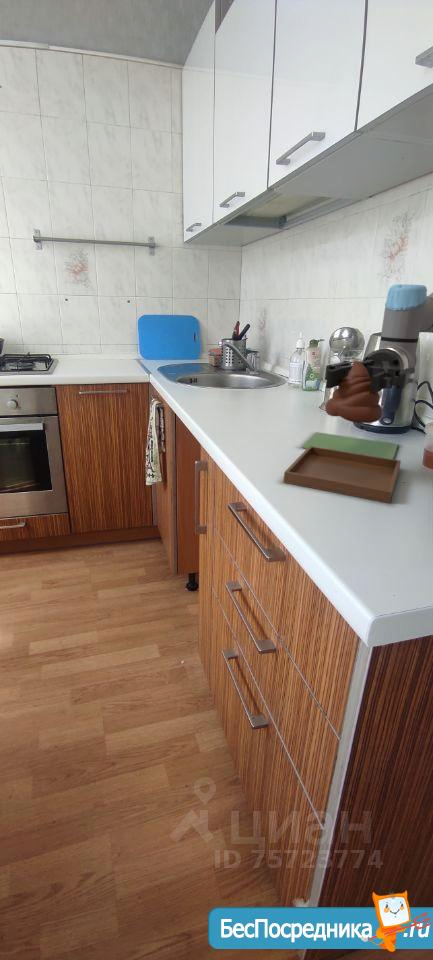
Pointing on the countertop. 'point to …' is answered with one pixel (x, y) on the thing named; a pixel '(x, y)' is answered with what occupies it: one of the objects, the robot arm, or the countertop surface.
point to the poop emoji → (355, 397)
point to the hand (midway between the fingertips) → (350, 382)
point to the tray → (345, 473)
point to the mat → (352, 445)
